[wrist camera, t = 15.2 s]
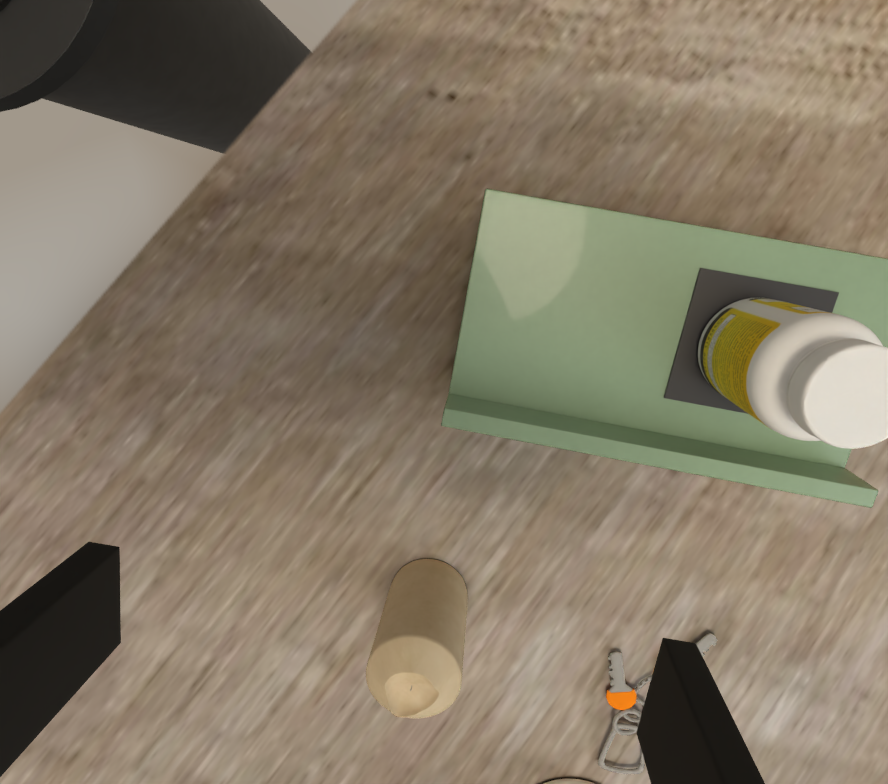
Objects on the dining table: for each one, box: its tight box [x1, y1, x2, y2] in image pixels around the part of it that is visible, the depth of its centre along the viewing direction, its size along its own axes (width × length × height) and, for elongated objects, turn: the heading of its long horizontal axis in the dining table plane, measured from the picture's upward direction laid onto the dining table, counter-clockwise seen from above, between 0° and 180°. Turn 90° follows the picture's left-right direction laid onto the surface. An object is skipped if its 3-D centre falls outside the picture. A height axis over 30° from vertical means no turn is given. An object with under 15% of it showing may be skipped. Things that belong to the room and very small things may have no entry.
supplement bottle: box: [698, 298, 888, 449], centre depth 26 cm, size 5×5×10 cm
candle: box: [366, 559, 468, 718], centre depth 37 cm, size 6×6×10 cm
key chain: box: [598, 633, 717, 774], centre depth 42 cm, size 13×7×1 cm, turn 173°
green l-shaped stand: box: [441, 189, 888, 508], centre depth 33 cm, size 12×22×8 cm, turn 80°
